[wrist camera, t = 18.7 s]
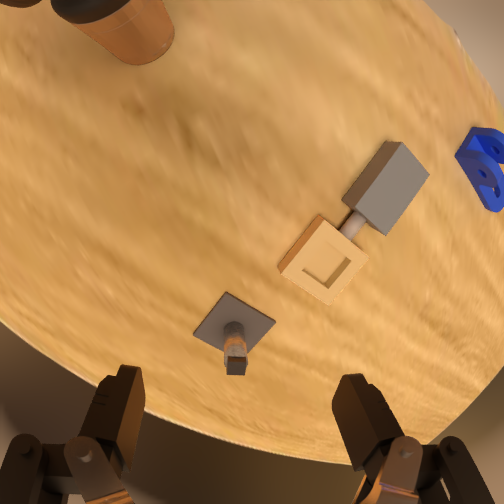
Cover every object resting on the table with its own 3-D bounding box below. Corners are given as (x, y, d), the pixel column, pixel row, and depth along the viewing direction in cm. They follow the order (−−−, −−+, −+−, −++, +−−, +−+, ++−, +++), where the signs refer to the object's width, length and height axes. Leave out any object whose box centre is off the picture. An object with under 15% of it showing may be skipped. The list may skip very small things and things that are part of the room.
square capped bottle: (224, 320, 47) (225, 359, 38) (245, 322, 47) (249, 360, 38) (223, 337, 48) (223, 376, 39) (243, 338, 49) (247, 377, 39)
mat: (193, 333, 48) (192, 335, 48) (226, 291, 46) (226, 293, 45) (240, 358, 51) (240, 360, 50) (275, 320, 48) (275, 322, 48)
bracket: (453, 155, 41) (487, 161, 33) (471, 127, 39) (504, 129, 31) (489, 217, 46) (518, 230, 38) (505, 190, 44) (533, 199, 36)
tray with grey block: (323, 297, 48) (332, 312, 43) (277, 266, 45) (283, 280, 40) (416, 176, 42) (434, 181, 37) (378, 135, 39) (395, 134, 34)
